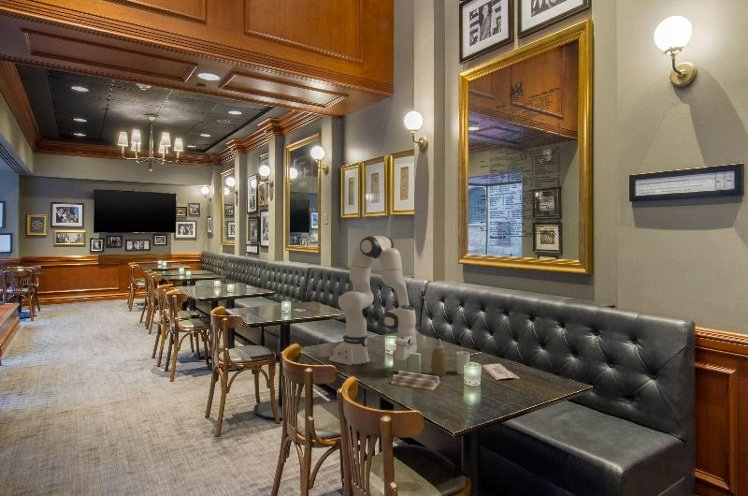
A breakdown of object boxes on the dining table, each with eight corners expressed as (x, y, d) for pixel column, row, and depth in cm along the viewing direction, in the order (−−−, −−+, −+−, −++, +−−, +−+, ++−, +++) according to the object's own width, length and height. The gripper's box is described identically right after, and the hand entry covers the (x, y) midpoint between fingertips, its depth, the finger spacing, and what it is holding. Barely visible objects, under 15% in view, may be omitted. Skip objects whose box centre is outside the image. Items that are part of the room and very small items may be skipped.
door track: (391, 384, 206) (391, 376, 206) (400, 376, 217) (400, 369, 217) (432, 390, 197) (432, 383, 197) (440, 382, 208) (440, 375, 208)
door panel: (393, 370, 226) (393, 351, 225) (395, 369, 228) (395, 350, 228) (418, 374, 220) (419, 354, 219) (420, 372, 222) (421, 353, 222)
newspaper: (521, 381, 212) (521, 376, 212) (496, 384, 211) (496, 379, 211) (503, 366, 235) (503, 361, 235) (481, 369, 234) (481, 364, 234)
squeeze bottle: (449, 373, 221) (449, 338, 221) (443, 378, 214) (443, 341, 214) (434, 371, 225) (434, 336, 225) (428, 375, 218) (428, 339, 218)
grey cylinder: (463, 375, 218) (463, 355, 218) (453, 372, 224) (453, 352, 223) (472, 373, 222) (472, 353, 222) (462, 369, 227) (462, 350, 227)
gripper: (408, 332, 234) (408, 358, 235) (393, 341, 216) (393, 369, 216) (419, 334, 231) (419, 360, 232) (405, 342, 213) (405, 371, 213)
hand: (406, 364), depth 224 cm, fingers closed on door panel, 3 cm apart
